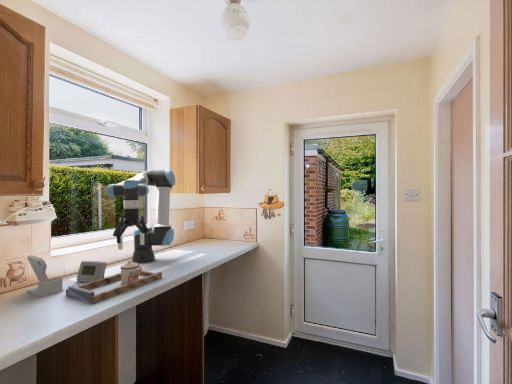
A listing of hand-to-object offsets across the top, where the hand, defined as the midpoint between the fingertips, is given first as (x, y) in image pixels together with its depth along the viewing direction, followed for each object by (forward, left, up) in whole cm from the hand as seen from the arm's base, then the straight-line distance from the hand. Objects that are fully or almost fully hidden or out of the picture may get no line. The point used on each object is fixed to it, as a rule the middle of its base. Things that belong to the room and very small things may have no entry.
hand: (131, 246), depth 147 cm
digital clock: (+10, -20, -19) cm, 29 cm away
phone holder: (+29, -27, -19) cm, 44 cm away
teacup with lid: (0, 0, -19) cm, 19 cm away
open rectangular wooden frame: (+8, 0, -19) cm, 21 cm away
